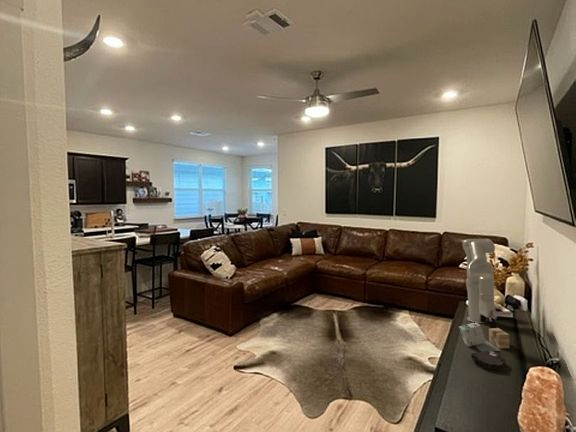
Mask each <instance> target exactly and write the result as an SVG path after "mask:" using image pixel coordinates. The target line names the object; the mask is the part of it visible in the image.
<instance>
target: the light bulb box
mask: <svg viewBox="0 0 576 432" xmlns="http://www.w3.org/2000/svg"><path fill="white" fill-rule="evenodd" d="M458 328H459V331H460V334H461V336H462V339H463V343H464V344H465V345H466V346H467V347H472V346H473V345H477V344H481V343H486V340H487V339H486V337H485V333H484V332H483V328H482V325H480V323H476V322H475V323H474V322H471V323H468V324H465V325H464V324H463V325H460V326H458ZM473 347H474V346H473Z"/></svg>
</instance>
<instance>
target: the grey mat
mask: <svg viewBox="0 0 576 432" xmlns="http://www.w3.org/2000/svg"><path fill="white" fill-rule="evenodd" d="M485 340H486V343H481V344H477V345H474V346H473V347H475V346H477V348H478V349H479V350H478V349H477V348H476V349H477V350H478V351H479V352H482V351H485V350H488V351H492V352H500V351H501V349H500V348H498V347H496V346H495V345H494V344H492V343H491V342H490V341H489V340H487V339H485Z"/></svg>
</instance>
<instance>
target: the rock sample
mask: <svg viewBox="0 0 576 432" xmlns="http://www.w3.org/2000/svg"><path fill="white" fill-rule="evenodd" d="M470 356H471V359H472V361H473V363H474V366H476V367H478V368H480V369H483V370H486V371H489V372H493V373H496V372H502V371H505V370H506V366H507V362H506V361H507V360H506V358H504V357H501V355H500V353H498V352H497V351H488V350H485V351H482V352H481V351H479V352H472V353H471V355H470Z"/></svg>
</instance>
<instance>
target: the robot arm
mask: <svg viewBox="0 0 576 432" xmlns="http://www.w3.org/2000/svg"><path fill="white" fill-rule="evenodd" d="M461 243H462V248H463V251H464V253H465V256H466V279H465V287H466V291H467V292H466V293H467V302H468V303H467V304H468V311H467V314H468V316H466V320H467V321H469V322H470V321H471V323H474V322H476V323H478V324H484V323H487V319H488V318H489V329H490V328H497V319H498V315H497V314H496V304H495V290H494V289H495V277H494V267H493V264H492V263H491V262H489V261H488V259H487V254H493V253H495V251H496V246H495V243H494V242H493V241H492V240H491V239H490V238H468V239H467V238H466V239H464V240H462V242H461Z"/></svg>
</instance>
